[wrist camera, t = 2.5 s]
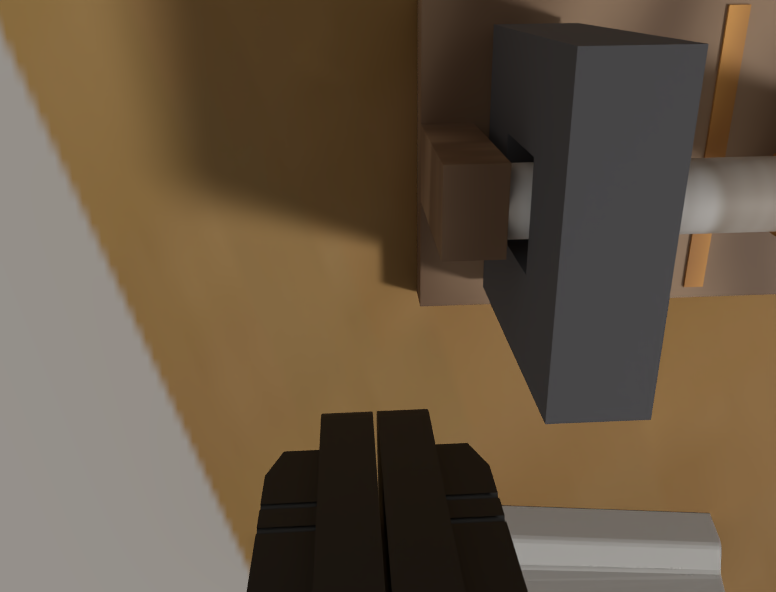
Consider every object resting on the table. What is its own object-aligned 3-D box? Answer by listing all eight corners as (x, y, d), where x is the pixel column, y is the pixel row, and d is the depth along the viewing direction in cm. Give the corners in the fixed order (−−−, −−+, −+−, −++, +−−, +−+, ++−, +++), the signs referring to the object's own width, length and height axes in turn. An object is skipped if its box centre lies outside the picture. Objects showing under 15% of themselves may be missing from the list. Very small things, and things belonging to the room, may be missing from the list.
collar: (578, 23, 25) (708, 43, 16) (555, 284, 29) (651, 419, 20) (493, 24, 25) (577, 46, 16) (482, 286, 29) (545, 424, 20)
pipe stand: (863, -13, 27) (1065, -13, 20) (796, 279, 32) (938, 371, 24) (417, -7, 27) (446, -3, 19) (417, 292, 31) (440, 391, 24)
